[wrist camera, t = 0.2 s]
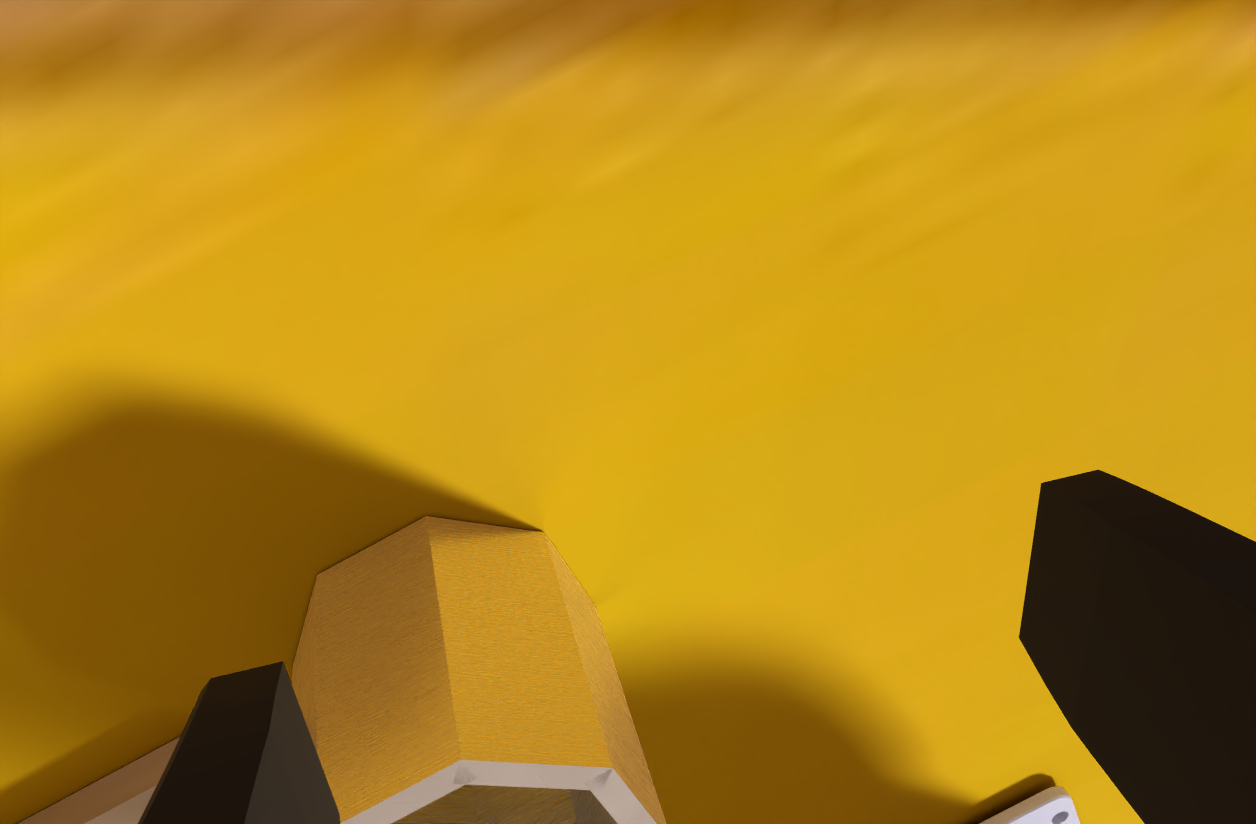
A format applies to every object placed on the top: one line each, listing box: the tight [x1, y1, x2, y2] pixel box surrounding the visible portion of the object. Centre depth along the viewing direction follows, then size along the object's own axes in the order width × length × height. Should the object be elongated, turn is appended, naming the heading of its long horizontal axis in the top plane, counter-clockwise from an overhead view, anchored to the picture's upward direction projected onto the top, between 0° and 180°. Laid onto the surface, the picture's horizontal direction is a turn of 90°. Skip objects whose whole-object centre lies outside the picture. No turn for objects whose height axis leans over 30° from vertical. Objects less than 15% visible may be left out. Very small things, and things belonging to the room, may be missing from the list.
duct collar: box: [292, 516, 666, 824], centre depth 20 cm, size 6×6×6 cm
